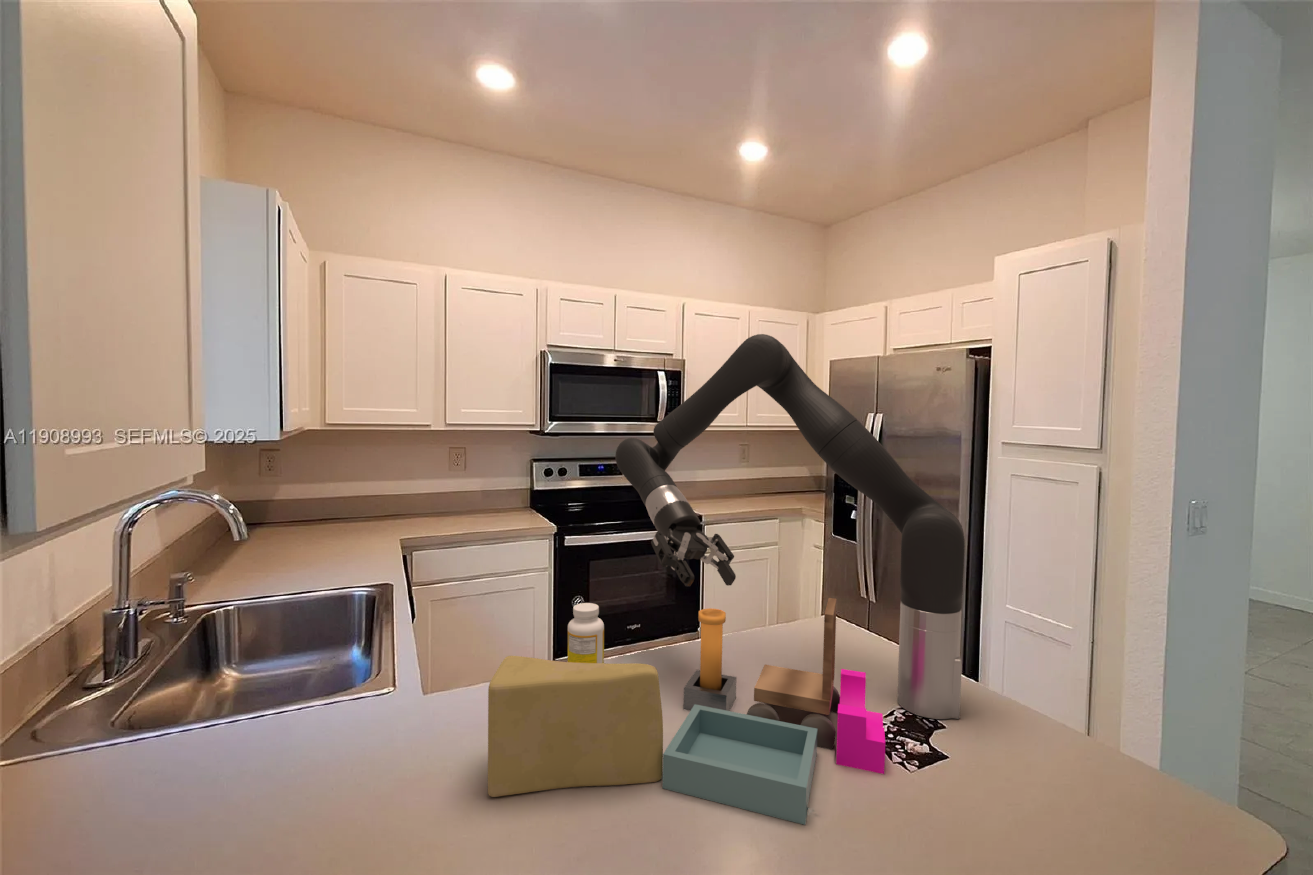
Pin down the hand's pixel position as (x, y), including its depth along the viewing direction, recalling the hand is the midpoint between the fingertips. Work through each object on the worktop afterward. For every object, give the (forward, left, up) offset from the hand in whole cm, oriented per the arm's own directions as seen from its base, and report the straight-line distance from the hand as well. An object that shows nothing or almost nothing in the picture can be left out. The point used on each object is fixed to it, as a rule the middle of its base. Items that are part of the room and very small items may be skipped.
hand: (711, 582), depth 95 cm
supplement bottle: (+24, -3, -21) cm, 32 cm away
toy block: (-23, 0, -21) cm, 32 cm away
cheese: (+11, +24, -21) cm, 34 cm away
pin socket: (0, 0, -21) cm, 21 cm away
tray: (-9, +15, -21) cm, 27 cm away
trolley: (-14, 0, -21) cm, 25 cm away
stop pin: (0, 0, -20) cm, 20 cm away
